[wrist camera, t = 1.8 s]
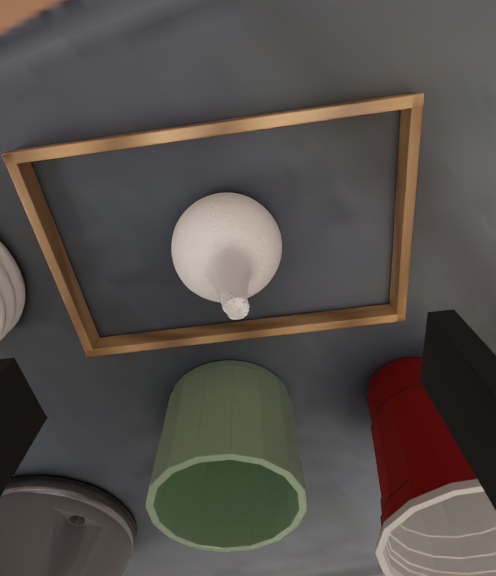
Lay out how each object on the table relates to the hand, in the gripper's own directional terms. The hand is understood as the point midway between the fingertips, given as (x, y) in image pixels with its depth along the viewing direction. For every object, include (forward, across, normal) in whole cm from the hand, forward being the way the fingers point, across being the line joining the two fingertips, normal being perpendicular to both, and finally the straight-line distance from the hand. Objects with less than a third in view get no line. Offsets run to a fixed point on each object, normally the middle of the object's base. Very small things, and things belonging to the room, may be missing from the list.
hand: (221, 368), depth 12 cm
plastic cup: (+12, -11, +14) cm, 22 cm away
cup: (+12, +2, +14) cm, 19 cm away
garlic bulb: (+12, 0, 0) cm, 12 cm away
